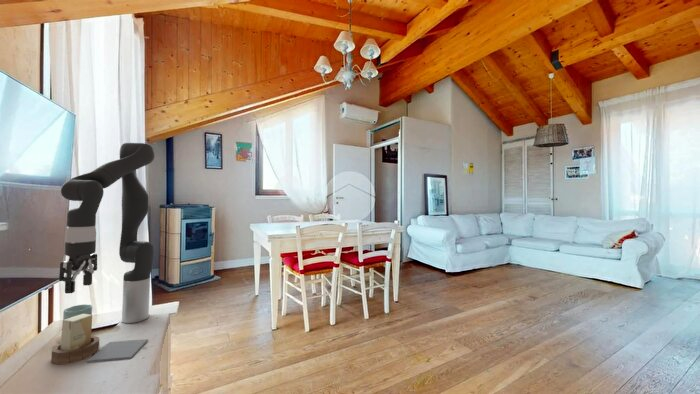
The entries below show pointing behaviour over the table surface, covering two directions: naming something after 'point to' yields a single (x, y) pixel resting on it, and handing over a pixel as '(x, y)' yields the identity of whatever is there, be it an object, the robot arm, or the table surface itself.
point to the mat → (118, 350)
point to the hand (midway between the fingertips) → (78, 288)
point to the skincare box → (76, 332)
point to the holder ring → (74, 352)
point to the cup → (77, 311)
